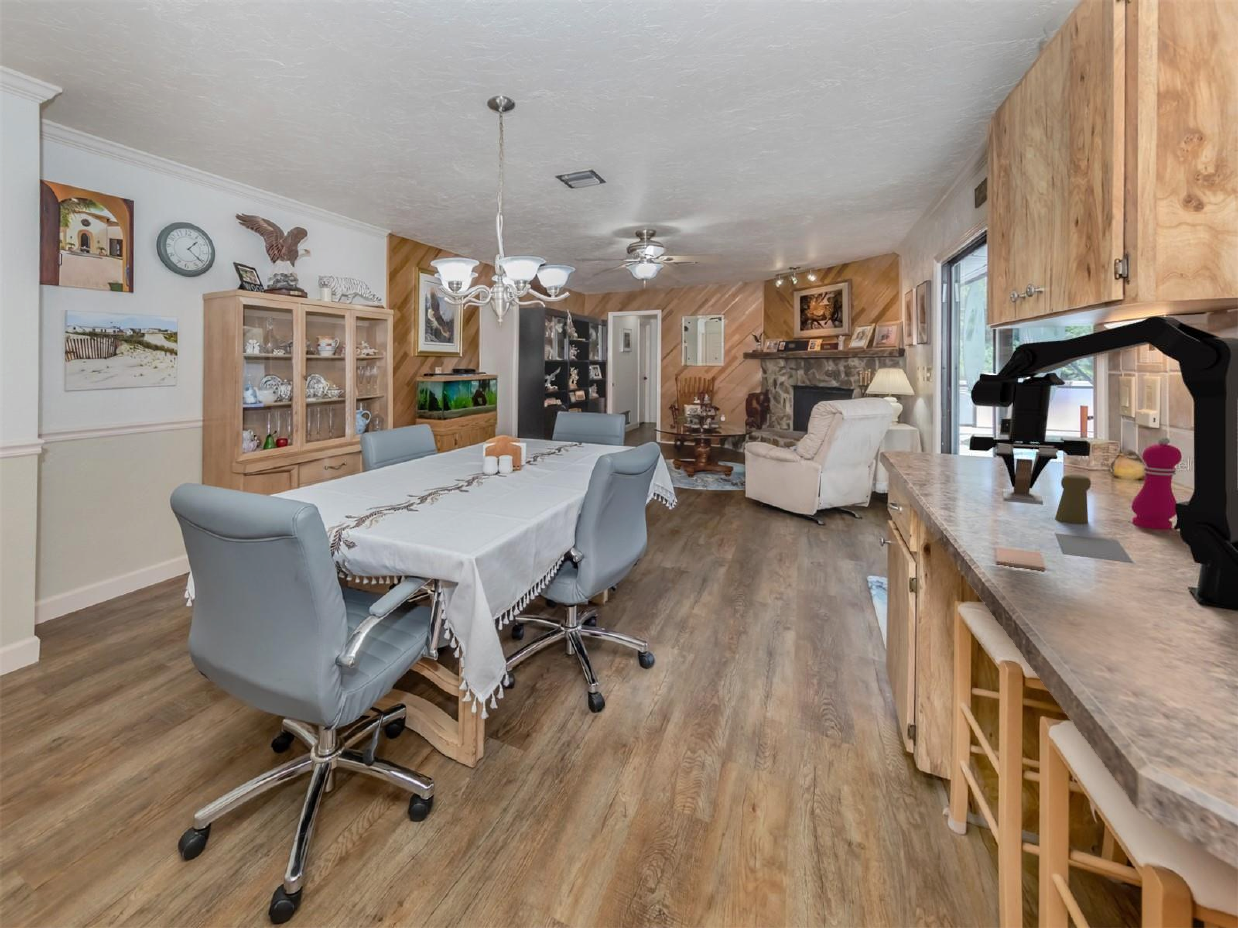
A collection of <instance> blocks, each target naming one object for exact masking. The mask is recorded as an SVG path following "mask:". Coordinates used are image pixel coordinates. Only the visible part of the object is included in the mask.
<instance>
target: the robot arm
mask: <svg viewBox="0 0 1238 928" xmlns="http://www.w3.org/2000/svg"><path fill="white" fill-rule="evenodd" d="M1145 345H1151V346H1152V347H1154V348H1155V349H1157V350H1158V351H1159V352H1161V353H1162V354H1163V355H1165V356H1167V357H1168V358H1170V359H1172V360H1174V361H1176V362H1178V366H1179V372H1180V374H1181V378H1182V382H1183V384H1184V386H1185V387H1186V389H1187V391H1188V392H1189V394H1190V396H1191V398H1192V400H1193V401H1192V402H1193V492H1192V495H1191V497H1190V499H1189V500H1186V501H1182V502H1177V503H1176V504H1175V511H1176V515H1175V516H1176V523H1175V526H1173V530H1175V531H1177V530H1179V536H1180V539H1181V540H1182V542H1184V543H1185V544H1187V545H1188V546H1189V549H1190V552H1191V555H1192V558H1193V561H1194V563H1196V564H1199V565H1200V569H1199V574H1198V580H1197V581H1198V582H1197V587H1193V586H1192V587H1191V586H1188V587H1187V590H1189V591H1188V592H1189V593H1190V594H1191V596H1192V597H1193V598H1194V600H1196V601H1197V603H1198V604H1201V605H1205V606H1206V605H1207V606H1213V607H1219V608H1225V609H1230V610H1231V609H1233V610H1238V338H1236V337H1221V336H1218V335H1216V334H1214V333H1211V332H1209V331H1205V330H1203V329H1199V328H1197V327H1194V326H1191V325H1189V324H1186V323H1184V322H1182V321H1180V320H1178V319H1177V318H1174V317H1173V316H1150V317H1147V318H1145V319H1143V320H1140V321H1136V322H1132V323H1127V324H1124V325H1120V326H1116V327H1112V328H1108V329H1105V330H1100V331H1096V332H1092V333H1088V334H1085V335H1081V336H1076V337H1072V338H1068V339H1062V340H1051V341H1049V340H1048V341H1038V342H1026V343H1022V344H1020V345H1018V346H1016V347H1015V349H1014V350H1013V352H1012V355H1011V357H1010V359H1009V360H1008V362H1006V364H1005V365H1004V366H1003V367H1002V368H1001V370H1000V371H999V372H998V373H996V374H995V373H990V372H989V373H980V374H979V378H978V379H977V380H976V382H974V384H973V387H972V389H971V390H970V398H971V403H973V404H974V405H975V406H977V407H992V408H993V407H994V408H1008V407H1010V406H1011V417H1010V418H1003V417H1002V418H1001V421H1000V428H999V429H1000V430H999V435H1001V436H1002V435H1003V436H1008V438H994V434H986V433H985V434H984V433H983V434H982V433H974V434H972V435H971V436H970V438H969V439H970V440H969V448H968V450H969V451H975V452H979V451H980V452H988V451H990V450H991V449H993V448H995V456H996V457H1002V460H1003V462H1004V465H1005V466H1006V468H1007V472H1008V477H1009V480H1010V484H1011V487H1012V488H1014V487H1015V471H1016V464H1015V453H1014V449H1015V450H1016V449H1020V450H1021V449H1022V450H1037V451H1036V452H1035V458H1034V462H1033V464H1032V472H1031V481H1030V489H1032V488H1033V487H1034V485H1035V483H1036V482H1037V480H1038V478H1039V476H1040V474H1041V473H1042V472H1043V470H1044V468H1046V466H1047V465H1048V463H1049V462H1050V461H1051V460H1058V454H1057V453H1059V451H1061V452H1064V453H1065V454H1066V455H1067V456H1071V457H1072V456H1075V457H1090V453H1091V452H1090V451H1091V443H1090V442H1089V441H1087V440H1086V439H1085V438H1084V437H1064V436H1063V437H1060V440H1046V435H1047V428H1048V427H1047V426H1048V417H1049V407H1050V400H1051V391H1052V387H1053V386H1054V387H1055V386H1057V387H1058V386H1064V385H1065V384H1066V381H1064V380H1063V379H1062V378H1061V377H1059V376H1058V375H1057V373H1056V372H1053V371H1056V370H1058V369H1061V368H1064V367H1066V366H1068V365H1070V364H1072V363H1075V362H1077V361H1079V360H1083V359H1087V358H1090V357H1095V356H1099V355H1104V354H1109V353H1114V352H1119V351H1123V350H1124V351H1125V350H1127V349H1132V348H1138V347H1142V346H1145ZM1039 374H1044V375H1043V376H1037V375H1039ZM1019 379H1023V380H1022V381H1019Z"/></svg>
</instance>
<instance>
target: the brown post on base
mask: <svg viewBox="0 0 1238 928" xmlns="http://www.w3.org/2000/svg"><path fill="white" fill-rule="evenodd" d="M1015 463H1016V464H1015V487H1013V489H1009V488H1003V489H1002V499H1003V502H1007V503H1019V504H1030V505H1038V506H1039V505H1040V506H1042V505H1044V501H1043V498H1042V495H1041V492H1040V491H1032V490H1030V489H1031V488H1030V481H1031V473H1032V469H1033V464H1034V462H1033V460H1032V459H1028V458H1016V461H1015Z"/></svg>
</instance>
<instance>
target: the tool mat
mask: <svg viewBox="0 0 1238 928" xmlns="http://www.w3.org/2000/svg"><path fill="white" fill-rule="evenodd" d="M1054 535H1055V537H1056V541H1057V543H1058V545H1059V548H1060V551H1061V553H1062V554H1063V555H1069V556H1074V557H1075V556H1076V557H1085V558H1091V559H1097V560H1098V559H1100V560H1108V561H1113V562H1114V561H1115V562H1123V563H1129V564H1130V563H1132V564H1133V563H1134V561H1133V560H1132V558H1131V557H1130V556H1129V555H1128V553H1127V551H1126V550H1125V549H1124V547H1123V546H1122V544H1121V543H1120V541H1119V540H1118V539H1110V538H1109V539H1108V538H1100V537H1091V536H1083V535H1074V534H1064V533H1055V532H1054Z"/></svg>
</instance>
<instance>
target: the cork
mask: <svg viewBox="0 0 1238 928" xmlns="http://www.w3.org/2000/svg"><path fill="white" fill-rule="evenodd" d="M1060 482H1061V483H1060V484H1061V487H1062V493H1061V495H1060V500H1059V503H1058V506H1057V507H1058V508H1057V510H1056V514H1055V518H1054V519H1055V521H1058V522H1060V523H1066V524H1071V525H1086V524H1089V516H1088V515H1089V514H1088V511H1089V510H1088V495H1087V493H1088V490H1089V489H1091V485H1092V483H1091V482H1092V481H1091V479H1090V478H1089V477H1088V476H1085V475H1079V474H1065V475H1064V476H1063V477H1062V478H1061V481H1060Z"/></svg>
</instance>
